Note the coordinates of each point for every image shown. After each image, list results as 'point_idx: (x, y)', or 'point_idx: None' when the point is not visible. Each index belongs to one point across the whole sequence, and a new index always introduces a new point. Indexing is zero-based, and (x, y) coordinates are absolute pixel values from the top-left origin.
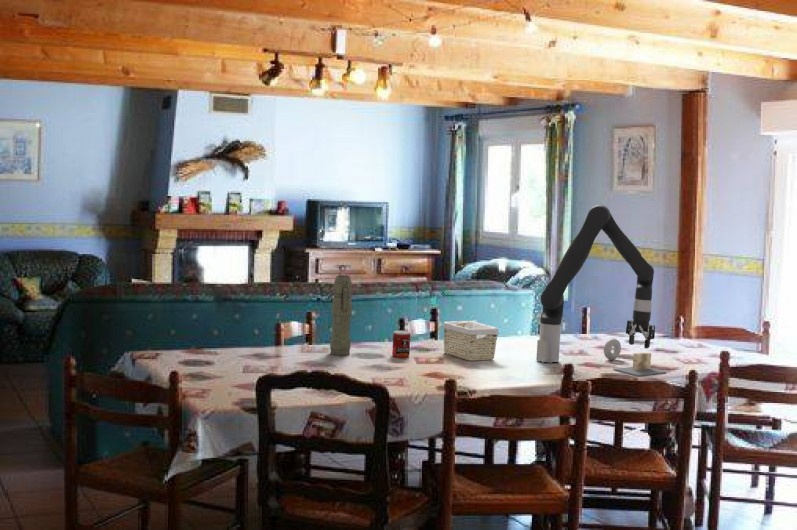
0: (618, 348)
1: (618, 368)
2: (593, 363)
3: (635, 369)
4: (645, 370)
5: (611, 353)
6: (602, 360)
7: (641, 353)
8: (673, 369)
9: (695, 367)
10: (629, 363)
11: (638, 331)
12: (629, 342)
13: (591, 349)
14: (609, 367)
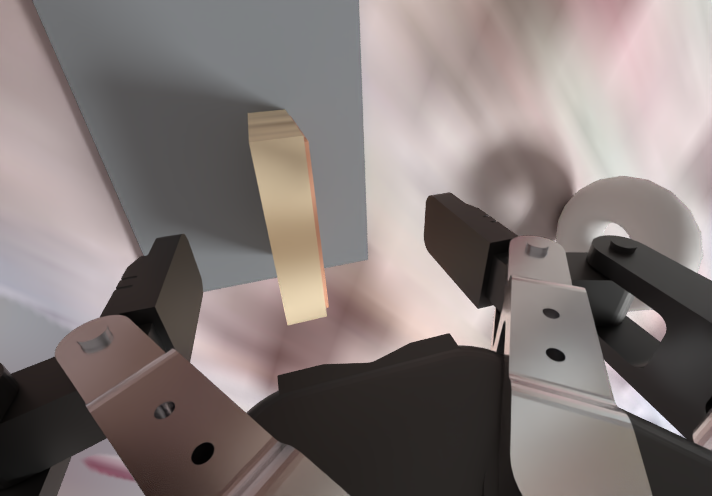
0: None
1: (353, 10)
2: (586, 7)
3: (254, 113)
4: (231, 189)
5: (590, 215)
6: (588, 154)
7: (291, 231)
8: (266, 377)
9: None
10: None
11: (382, 373)
12: (457, 198)
13: (706, 269)
14: (445, 15)
